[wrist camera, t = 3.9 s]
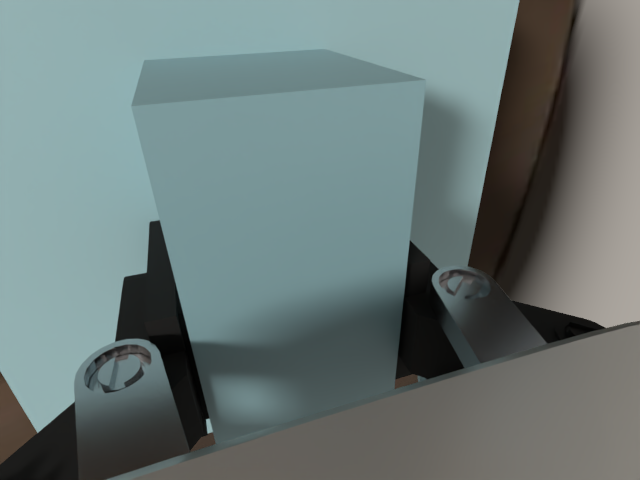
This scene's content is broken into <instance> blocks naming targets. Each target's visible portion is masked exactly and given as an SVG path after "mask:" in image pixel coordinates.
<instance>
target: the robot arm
mask: <svg viewBox="0 0 640 480" xmlns="http://www.w3.org/2000/svg"><path fill="white" fill-rule="evenodd" d="M411 374H415V375H418V381H419V382H417V383H414V384H411V385H408V386H404V387H401V388H398V389H394V390H391V391H388V392H384V393H381V394H378V395H375V396H371V397H368V398H365V399H362V400H358V401H355V402H352V403H348V404H345V405H342V406H339V407H335V408H332V409H329V410H325V411H322V412H319V413H316V414H312V415H309V416H306V417H303V418H299V419H296V420H293V421H290V422H286V423H283V424H280V425H277V426H274V427H270V428H267V429H264V430H261V431H257V432H254V433H251V434H248V435H245V436H241V437H238V438H235V439H232V440H228V441H225V442H222V443H219V444H216V445H212V446H209V447H206V448H203V449H199V450H196V451H193V452H190V450H191V449H192V448H193V446H194V445H195V444H196V443H197V441H198V440H199V439H200V438H201V437H203V436H206V435H208V433H207V424H206V419H210V418H209V414H208V410H207V406H206V402H205V398H204V394H203V390H202V386H201V382H200V378H199V374H198V370H197V366H196V362H195V358H194V354H193V350H192V346H191V342H190V338H189V334H188V330H187V326H186V322H185V319H184V315H183V311H182V307H181V303H180V299H179V295H178V291H177V287H176V283H175V279H174V275H173V271H172V267H171V263H170V259H169V255H168V251H167V247H166V243H165V239H164V235H163V231H162V227H161V223H160V220H157V221H151V222H150V223H149V241H148V259H147V273H142V274H137V275H131V276H126V277H124V280H123V286H122V294H121V301H120V308H119V316H118V323H117V330H116V338H115V342H113V343H111V344H109V345H107V346H104V347H102V348H100V349H99V350H97V351H96V352H94V353H93V354H91V355H90V356H89V357H88V358H87V359H86V360H85V361H84V362H83V363H82V364H81V366H80V367H79V369H78V371H77V373H76V375H75V380H74V395H75V402H74V403H72V404H71V405H70V406H69V407H68V408H67V409H65V410H64V411H63V412H62V413H61V414H59V415H58V416H57V417H56V418H55V419H54V420H52V421H51V422H50V423H49V424H48V425H46V426H45V427H44V428H43V429H42V430H41V431H39V432H38V433H37V434H36V435H35V436H34V437H32V438H31V439H30V440H29V441H28V442H26V443H25V444H24V445H23V446H22V447H21V448H19V449H18V450H17V451H16V452H15V453H13V454H12V455H11V456H10V457H9V458H8V459H6V460H5V461H4V462H3V463H2V464H1V465H0V480H640V321H637V322H631V323H625V324H621V325H617V326H613V327H609V328H605V327H603V326H601V325H599V324H597V323H595V322H592V321H590V320H586V319H583V318H579V317H575V316H571V315H567V314H563V313H559V312H555V311H551V310H547V309H543V308H539V307H535V306H531V305H527V304H523V303H519V302H515V301H511V300H510V298H509V297H508V296H507V295H506V294H505V292H504V291H503V290H502V289H501V288H500V286H499V285H498V284H497V283H496V282H495V280H493V279H492V278H491V277H490V276H489V275H488V274H486V273H484V272H482V271H480V270H477V269H474V268H471V267H466V266H448V267H443V268H441V269H438V268H437V267H436V266H435V265H434V264H433V263H432V262H431V261H430V259H429V258H428V257H427V256H426V255H425V254H424V253H423V252H422V251H421V250H420V249H419V248H418V247H417V246H416V245H415V244H413V243H412V242H411V241H410V242H409V251H408V261H407V271H406V280H405V290H404V300H403V309H402V319H401V329H400V338H399V348H398V357H397V367H396V377H395V379H398V378H401V377H405V376H408V375H411Z"/></svg>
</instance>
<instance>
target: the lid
mask: <svg viewBox="0 0 640 480" xmlns="http://www.w3.org/2000/svg"><path fill="white" fill-rule="evenodd" d="M518 5H519V0H0V372H1V373H2V375H3V376H4V378H5V380H6V381H7V383H8V385H9V386H10V388H11V390H12V391H13V393H14V395H15V396H16V398H17V400H18V401H19V403H20V405H21V406H22V408H23V410H24V411H25V413H26V414H27V416H28V418H29V419H30V421H31V423H32V424H33V426H34V428H35V429H36V431H37V433H38V432H39V431H41V430H42V429H43V428H44V427H45V426H46V425H48V424H49V423H50V422H51V421H52V420H54V419H55V418H56V417H57V416H58V415H59V414H61V413H62V412H63V411H64V410H65V409H67V408H68V407H69V406H70V405H71V404H72V403H74V402H75V395H74V380H75V375H76V373H77V371H78V369H79V367H80V366H81V364H82V363H83V362H84V361H85V360H86V359H87V358H88V357H89V356H90V355H91V354H93V353H94V352H96V351H97V350H99V349H100V348H102V347H104V346H107V345H109V344H111V343H113V342H115V338H116V330H117V323H118V316H119V308H120V301H121V294H122V286H123V280H124V277H126V276H131V275H137V274H142V273H147V259H148V241H149V223H150V222H151V221H157V220H160V223H161V227H162V231H163V235H164V239H165V243H166V247H167V251H168V255H169V259H170V263H171V267H172V271H173V275H174V279H175V283H176V287H177V291H178V295H179V299H180V303H181V307H182V311H183V315H184V319H185V322H186V326H187V330H188V334H189V338H190V342H191V346H192V350H193V354H194V358H195V362H196V366H197V370H198V374H199V378H200V382H201V386H202V390H203V394H204V398H205V402H206V406H207V410H208V414H209V418H210V419H206V424H207V433H210V432H213V434H214V438H215V442H216V444H219V443H222V442H225V441H228V440H232V439H235V438H238V437H241V436H245V435H248V434H251V433H254V432H257V431H261V430H264V429H267V428H270V427H274V426H277V425H280V424H283V423H286V422H290V421H293V420H296V419H299V418H303V417H306V416H309V415H312V414H316V413H319V412H322V411H325V410H329V409H332V408H335V407H339V406H342V405H345V404H348V403H352V402H355V401H358V400H362V399H365V398H368V397H371V396H375V395H378V394H381V393H384V392H388V391H391V390H394V386H395V377H396V367H397V357H398V348H399V338H400V329H401V319H402V309H403V300H404V290H405V280H406V271H407V261H408V251H409V242H410V241H411V242H412V243H413V244H415V245H416V246H417V247H418V248H419V249H420V250H421V251H422V252H423V253H424V254H425V255H426V256H427V257H428V258H429V259H430V261H431V262H432V263H433V264H434V265H435V266H436V267H437V268H438V269H441V268H443V267H448V266H466V267H467V266H468V261H469V256H470V251H471V246H472V241H473V236H474V230H475V225H476V220H477V215H478V210H479V205H480V200H481V194H482V189H483V184H484V179H485V174H486V169H487V164H488V159H489V153H490V148H491V143H492V138H493V133H494V128H495V123H496V118H497V112H498V107H499V102H500V97H501V92H502V87H503V82H504V77H505V71H506V66H507V61H508V56H509V51H510V46H511V41H512V36H513V30H514V25H515V20H516V15H517V10H518Z"/></svg>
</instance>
